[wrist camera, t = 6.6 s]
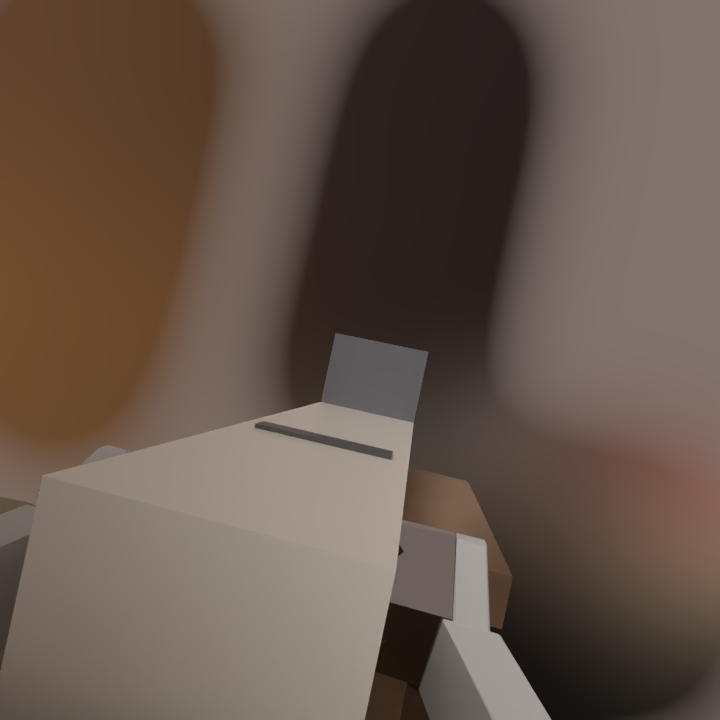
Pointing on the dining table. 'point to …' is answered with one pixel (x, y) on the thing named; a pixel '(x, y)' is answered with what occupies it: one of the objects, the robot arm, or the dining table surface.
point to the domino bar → (223, 563)
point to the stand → (459, 515)
